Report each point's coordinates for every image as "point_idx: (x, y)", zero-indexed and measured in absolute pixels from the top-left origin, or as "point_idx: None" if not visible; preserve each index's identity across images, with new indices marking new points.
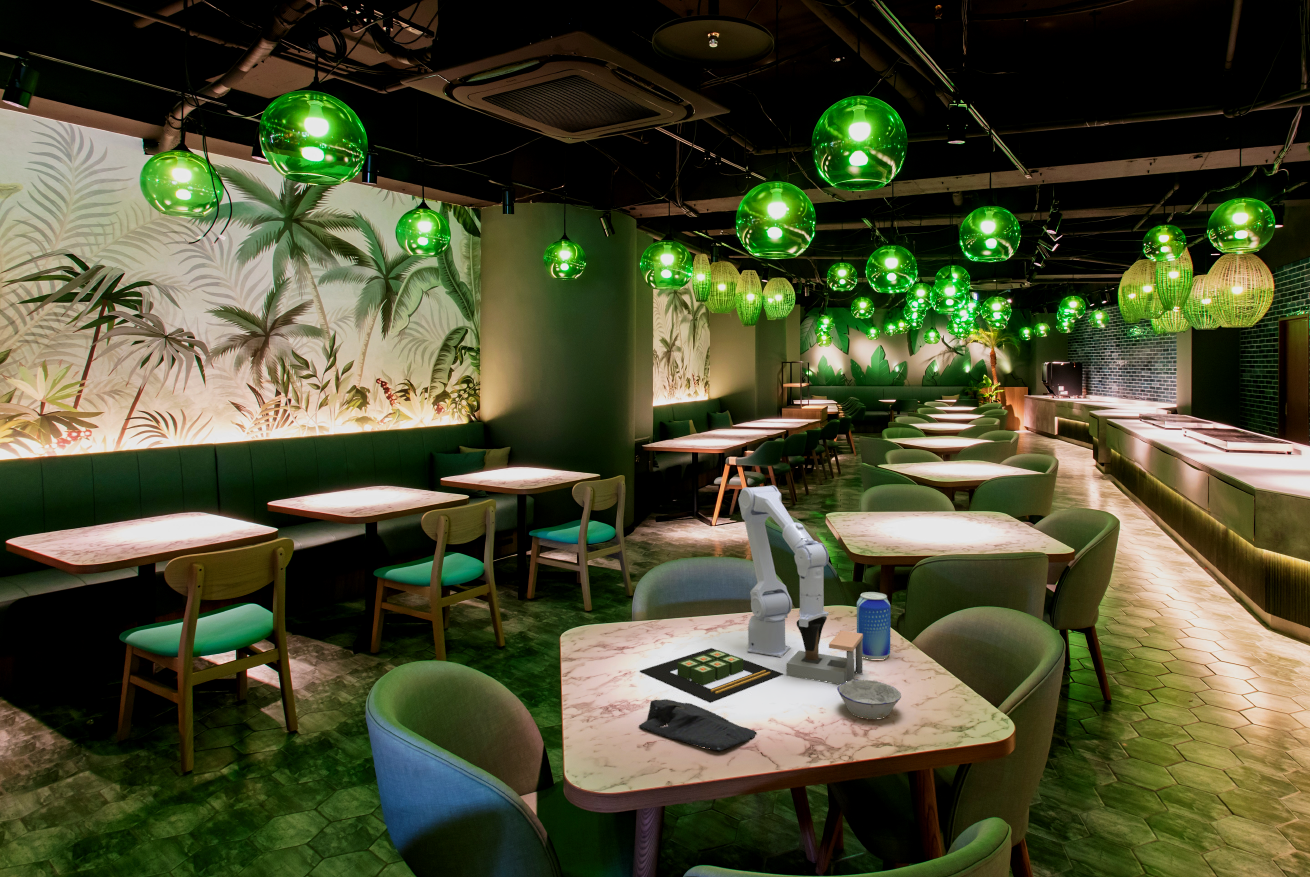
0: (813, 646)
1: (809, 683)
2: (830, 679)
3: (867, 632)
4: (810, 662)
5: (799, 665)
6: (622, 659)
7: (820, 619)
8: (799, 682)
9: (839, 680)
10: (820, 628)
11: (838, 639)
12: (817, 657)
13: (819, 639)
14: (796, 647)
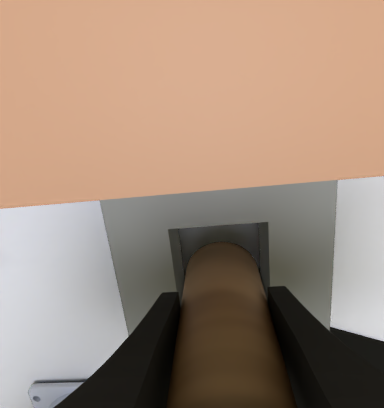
0: (301, 305)
1: (361, 202)
2: None
3: None
4: (180, 271)
5: (331, 291)
6: None
7: None
8: (366, 241)
9: None
10: (143, 396)
11: (286, 116)
12: (231, 247)
13: (160, 315)
14: (7, 368)
